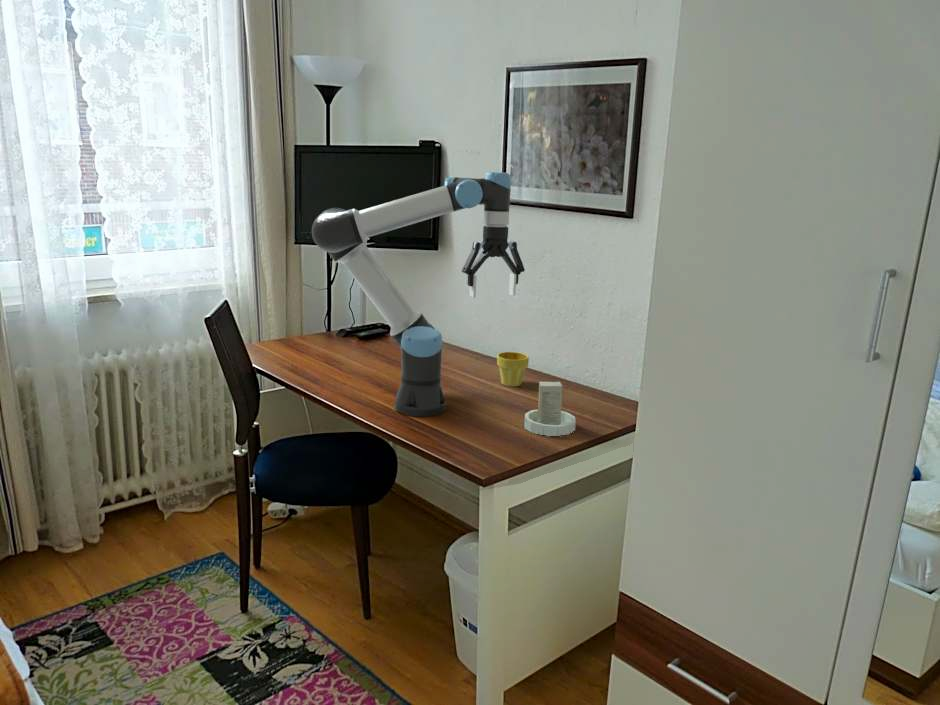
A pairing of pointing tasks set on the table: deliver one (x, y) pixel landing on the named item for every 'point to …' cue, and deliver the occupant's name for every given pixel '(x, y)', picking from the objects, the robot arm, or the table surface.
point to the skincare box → (550, 403)
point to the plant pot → (512, 367)
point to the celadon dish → (549, 430)
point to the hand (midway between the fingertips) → (492, 295)
